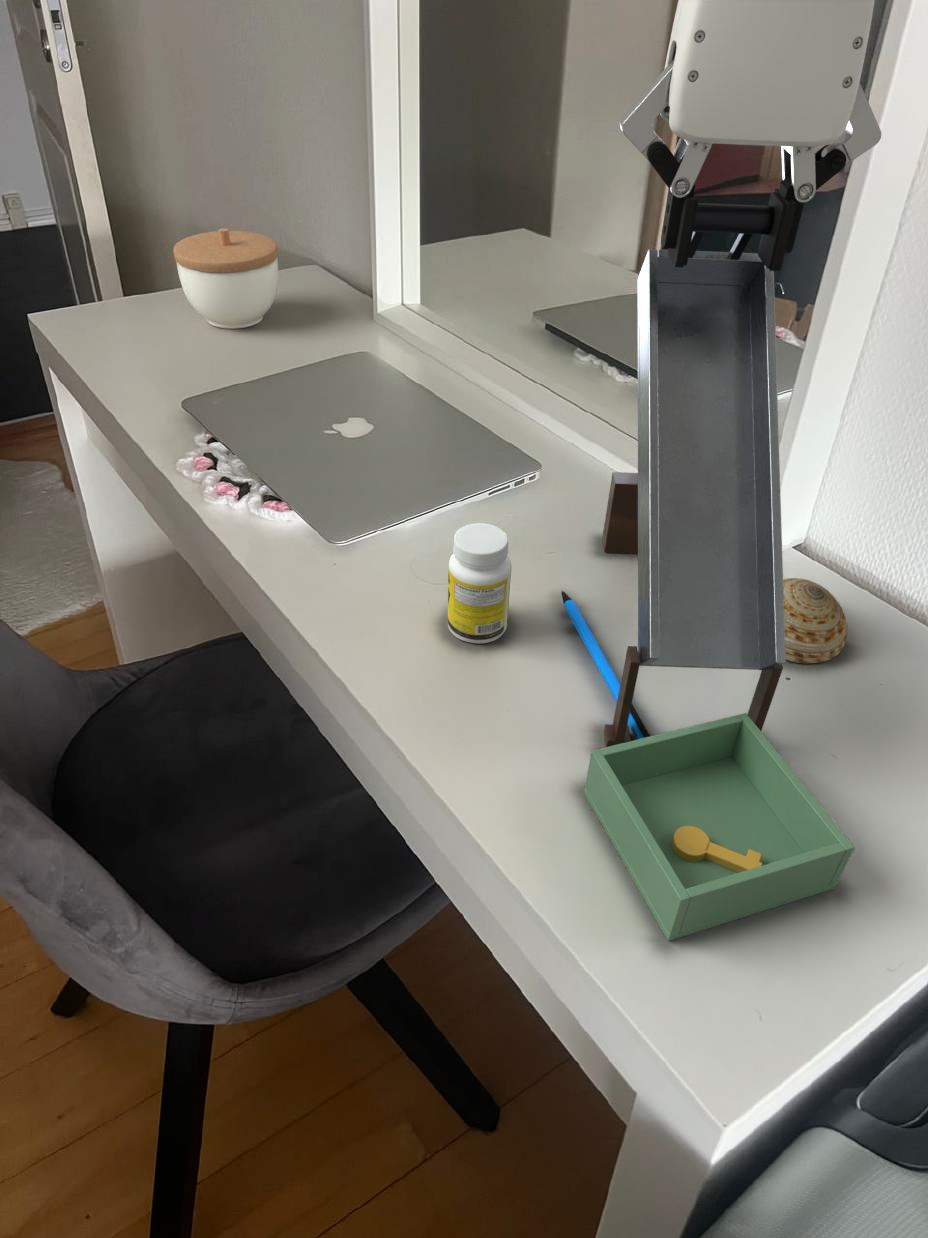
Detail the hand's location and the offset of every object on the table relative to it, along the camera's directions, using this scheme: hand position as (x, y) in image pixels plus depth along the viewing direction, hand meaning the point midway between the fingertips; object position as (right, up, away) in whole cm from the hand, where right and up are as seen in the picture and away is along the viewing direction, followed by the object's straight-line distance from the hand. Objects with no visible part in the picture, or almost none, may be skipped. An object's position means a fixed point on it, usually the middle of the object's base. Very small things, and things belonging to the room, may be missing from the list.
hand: (722, 258), depth 57 cm
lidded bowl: (-46, +16, +62) cm, 79 cm away
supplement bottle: (-15, -23, +15) cm, 32 cm away
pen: (-6, -27, +11) cm, 29 cm away
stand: (-1, -23, +15) cm, 28 cm away
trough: (-1, -12, +4) cm, 13 cm away
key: (-1, -36, -2) cm, 36 cm away
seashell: (+10, -23, +16) cm, 30 cm away
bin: (-1, -36, 0) cm, 36 cm away
